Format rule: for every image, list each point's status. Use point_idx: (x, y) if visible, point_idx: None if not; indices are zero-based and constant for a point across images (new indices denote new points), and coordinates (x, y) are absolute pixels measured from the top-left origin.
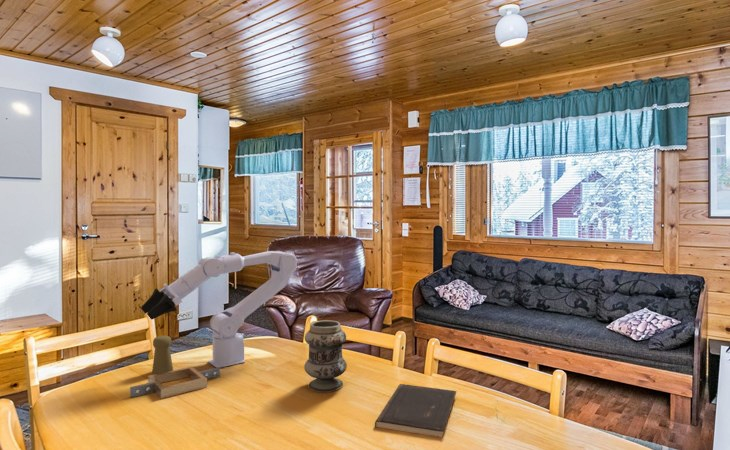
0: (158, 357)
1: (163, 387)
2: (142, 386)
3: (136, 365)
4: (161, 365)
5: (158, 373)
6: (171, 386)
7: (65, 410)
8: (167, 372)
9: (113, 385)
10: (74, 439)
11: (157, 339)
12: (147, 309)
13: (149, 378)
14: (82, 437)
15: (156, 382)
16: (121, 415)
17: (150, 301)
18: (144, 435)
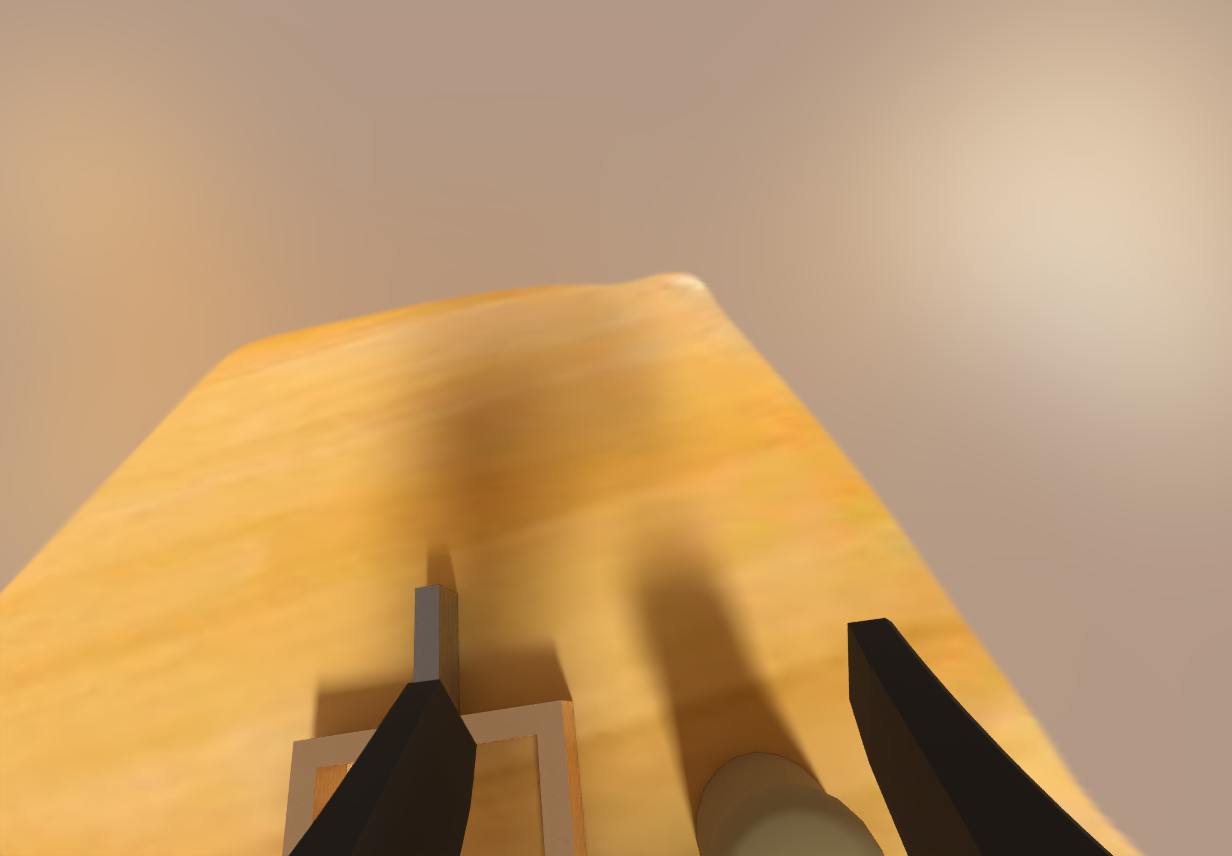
0: (724, 810)
1: (311, 761)
2: (414, 649)
3: (987, 671)
4: (706, 823)
5: (705, 791)
6: (293, 813)
7: (467, 361)
8: (556, 841)
9: (658, 525)
10: (202, 405)
11: (748, 831)
12: (871, 745)
13: (531, 705)
14: (197, 426)
15: None
16: (272, 547)
17: (951, 839)
18: (37, 618)
